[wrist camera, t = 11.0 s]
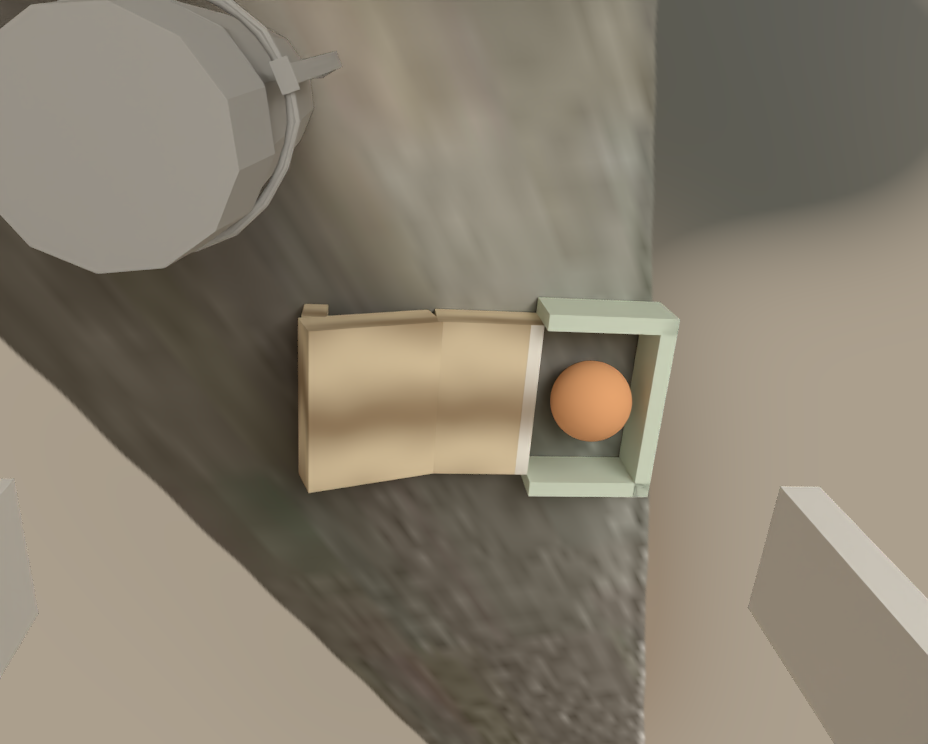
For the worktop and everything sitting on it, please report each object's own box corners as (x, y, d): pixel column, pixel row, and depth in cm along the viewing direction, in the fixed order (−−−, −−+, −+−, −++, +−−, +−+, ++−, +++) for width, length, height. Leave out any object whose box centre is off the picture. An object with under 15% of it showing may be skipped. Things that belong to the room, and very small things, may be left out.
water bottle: (216, 186, 44) (41, 336, 21) (149, 41, 40) (-144, 25, 17) (371, 130, 43) (370, 218, 20) (316, -20, 40) (241, -118, 17)
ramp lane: (301, 303, 47) (294, 331, 42) (536, 312, 48) (553, 339, 44) (302, 452, 50) (295, 492, 46) (520, 455, 52) (534, 494, 47)
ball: (537, 357, 48) (601, 380, 44) (590, 346, 51) (653, 367, 47) (530, 433, 49) (591, 461, 46) (582, 418, 52) (642, 443, 49)
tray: (538, 297, 48) (550, 314, 45) (660, 302, 49) (680, 319, 46) (518, 469, 52) (528, 496, 49) (630, 470, 53) (647, 497, 50)
